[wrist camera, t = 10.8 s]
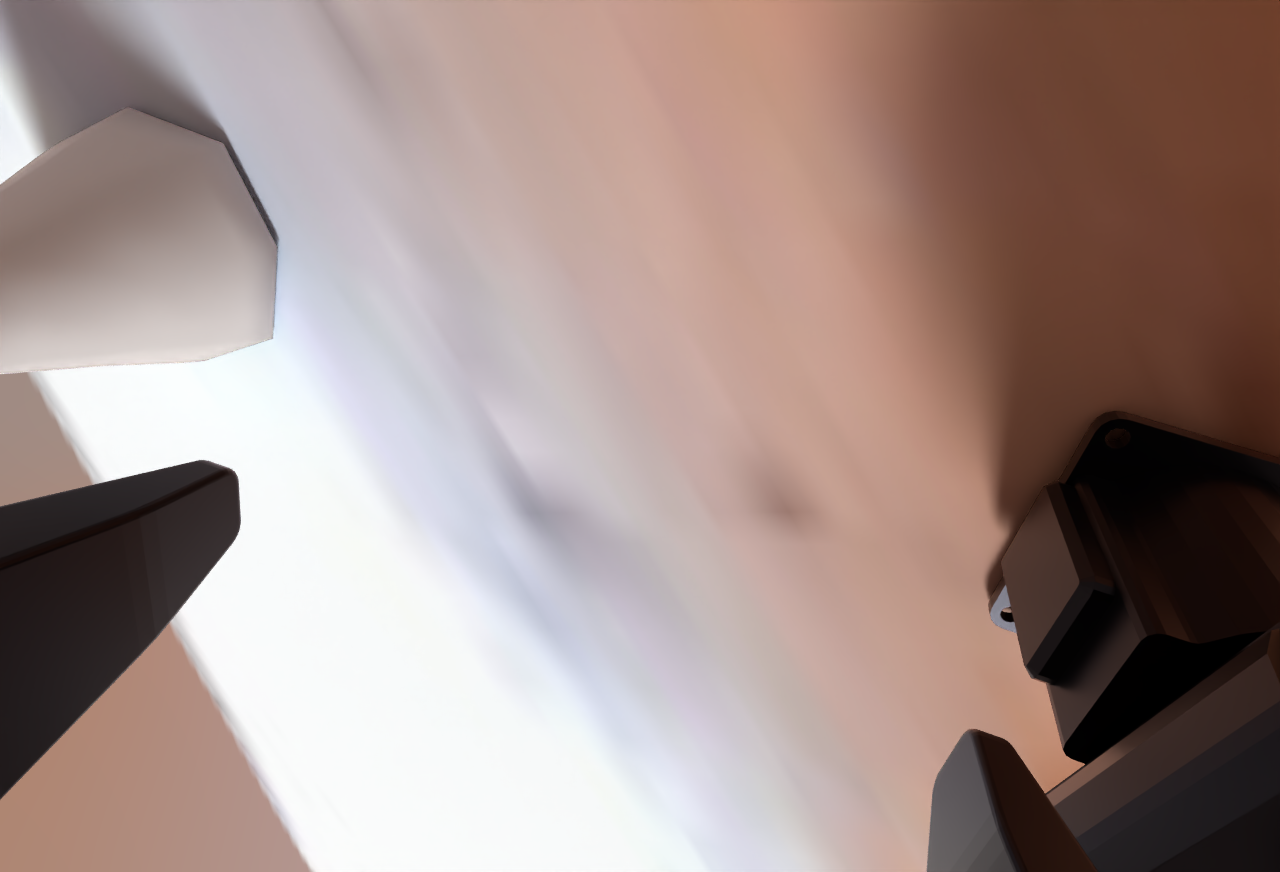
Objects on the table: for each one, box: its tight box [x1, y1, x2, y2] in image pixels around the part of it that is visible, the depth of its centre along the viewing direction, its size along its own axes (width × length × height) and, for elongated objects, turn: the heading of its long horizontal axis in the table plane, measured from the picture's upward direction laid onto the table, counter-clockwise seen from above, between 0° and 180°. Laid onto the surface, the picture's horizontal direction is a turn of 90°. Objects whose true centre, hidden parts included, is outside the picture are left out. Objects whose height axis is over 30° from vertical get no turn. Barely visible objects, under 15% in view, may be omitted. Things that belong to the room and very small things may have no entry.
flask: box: [0, 107, 277, 374], centre depth 19 cm, size 7×7×10 cm
